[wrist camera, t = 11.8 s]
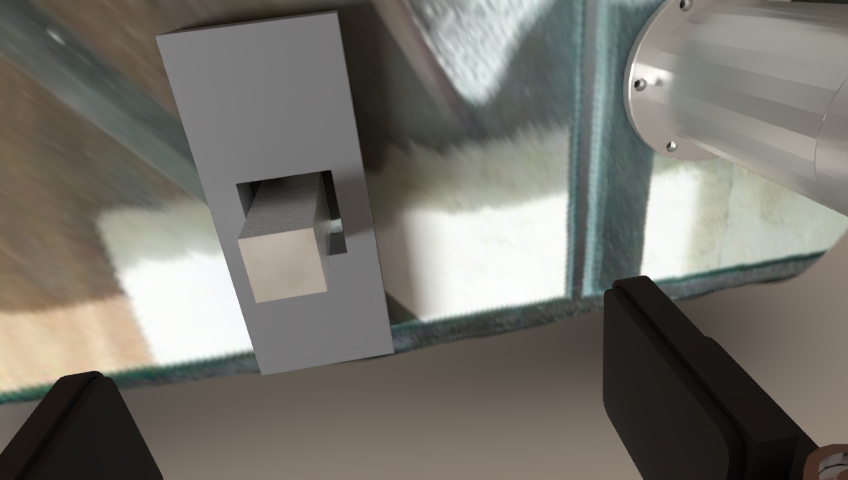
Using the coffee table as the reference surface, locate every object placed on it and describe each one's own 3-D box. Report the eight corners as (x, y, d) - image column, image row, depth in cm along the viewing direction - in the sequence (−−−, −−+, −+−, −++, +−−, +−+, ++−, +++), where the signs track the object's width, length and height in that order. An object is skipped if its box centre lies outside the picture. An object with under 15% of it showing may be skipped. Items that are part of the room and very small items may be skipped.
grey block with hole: (337, 9, 33) (336, 12, 30) (390, 326, 44) (394, 352, 41) (173, 30, 33) (155, 36, 30) (267, 347, 43) (261, 375, 40)
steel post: (320, 169, 38) (312, 227, 29) (331, 220, 39) (327, 291, 30) (262, 177, 37) (237, 239, 28) (276, 229, 39) (256, 303, 30)
